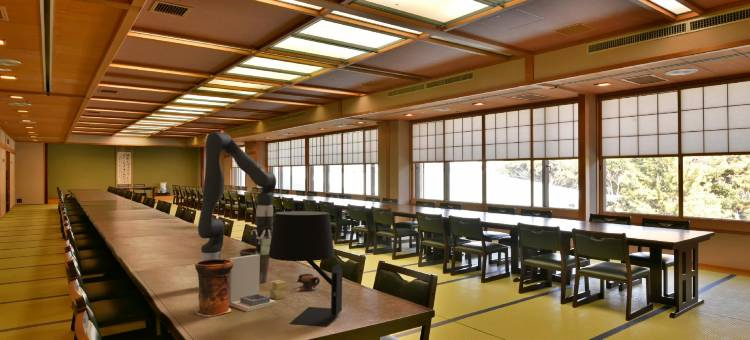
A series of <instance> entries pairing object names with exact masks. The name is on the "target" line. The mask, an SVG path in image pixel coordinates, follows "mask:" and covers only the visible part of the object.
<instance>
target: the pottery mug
mask: <svg viewBox="0 0 750 340" xmlns="http://www.w3.org/2000/svg"><path fill="white" fill-rule="evenodd" d="M320 282H321V280H320V277H319V276H314V274H312V273H303V274H300V275H298V279H297V281H296V283H301V284H303V285H299V291H300V292H301V291H312V290H313V289H315V288H316V287H317V286H319V284H320Z"/></svg>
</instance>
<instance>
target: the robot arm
mask: <svg viewBox="0 0 750 340" xmlns="http://www.w3.org/2000/svg"><path fill="white" fill-rule="evenodd" d="M222 152H223V153H225V154H227V155H229V156H230V157H231V158H232V159H233V160H234V162H235V163H236V165H237V166H238V168H239V169H240V170H241V171H243V172H244V173H245V174H246V175H248V176H249V178H250V179H251V181H252V182H253V183H254V184H255V185H256V186H258V187H260V188H261V191H260V192H259V193H258V194H257V198H256V211H255V213H256V214H255V216H256V217H255V225H256V227H255V229H253V230H252V229H251V230H250V231H249V232H250V233H249V234H250V238H251V243H252V244H255V248H256V251H257V252H258V253H260V252H261V245H260V244H261V239H263V238H269V239H270V238H271V236H272V230H273V224H274V217H273V216H274V207H273V206H274V205H273V200H274V197H273V196H274V194H275V189H276V186H277V177H276V174H274V173H273V172H270V171H263V170H262V169H261V165H260V164H259V163H258V162H257V161H255V160H254V159H253V158H252V157H250V156H249V155H248V154H247V153H246V152H245V151H244V150H243V149H242V148H241V147H240V146H239V145H238V144H237V143H236V142H235V140H234V139H233V138H232V137H231V136H230V135H229V134H227V133H225V132H218V131H212V132H210V133H208V135H207V137H206V141H205V168H204V169H205V170H204V179H203V180H204V181H203V191H202V192H203V193H202V200H201V201H202V202H201V209H200V213H199V218H198V219H199V220H198V225H197V232H198V236H199V237H200V238H201V239H208V241H207V242H205V244H203V245H201V248H200V253H201V254H200V261H205V260H213V259H221V260H222V248H223V246H224V235H225V234H224V233H225V225H224V222H223V220H222V219H220V218H213V213H214V210H215V208H216V206H217V204H218V203H219V201H220V200H221V198H222V196H223V194H224V189H225V176H224V172H223V170H222V166H221V163H220V158H221V157H220V156H221V153H222ZM258 239H259V241H258Z"/></svg>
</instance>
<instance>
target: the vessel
mask: <svg viewBox="0 0 750 340" xmlns="http://www.w3.org/2000/svg"><path fill="white" fill-rule="evenodd" d="M194 268H195V271H196V272H197V277H198V305H199V306H198V307H199V309H198V310H199V311H198V310H197V311H195V312H194V314H195V315H198V316H203V317H212V316H213V317H215V316H218V315H222V314H227V313H231V312H232V308H230V306H229V275H230V271H231V269H232V268H233V261H231V260H229V258H227V259H226V258H224V259H222V258H221V259H213V260H205V261H201V260H200V261H196V262H195V264H194Z"/></svg>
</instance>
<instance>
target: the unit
mask: <svg viewBox="0 0 750 340" xmlns="http://www.w3.org/2000/svg"><path fill="white" fill-rule="evenodd" d="M228 259H229V260H231V261H233V268H232V269H231V271H230V275H229V307H233V308H236V309H239V310H241V311H244V312H247V313H248V312H251V311H252V312H253V311H256V310H259V309H265V308H267V307H272V306H276V305H277V301H276V300H273V299H271V297H270V296H268V295H264V294H260V284H259V276H260V255H258V254H256V255H249V256H242V257H240V256H235V257H229V258H228Z"/></svg>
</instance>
